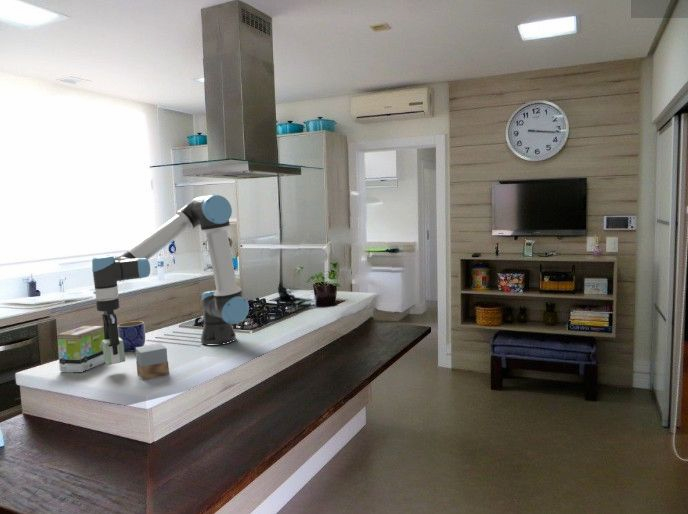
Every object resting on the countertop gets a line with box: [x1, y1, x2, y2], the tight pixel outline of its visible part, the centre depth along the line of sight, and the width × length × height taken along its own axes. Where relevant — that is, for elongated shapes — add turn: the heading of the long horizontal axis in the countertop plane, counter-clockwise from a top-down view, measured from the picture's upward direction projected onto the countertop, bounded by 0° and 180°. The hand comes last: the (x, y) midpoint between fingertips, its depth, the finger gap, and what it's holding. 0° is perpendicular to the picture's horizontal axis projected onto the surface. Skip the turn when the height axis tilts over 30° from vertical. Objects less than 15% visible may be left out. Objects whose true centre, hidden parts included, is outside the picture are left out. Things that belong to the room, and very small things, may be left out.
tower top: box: [135, 342, 169, 367], centre depth 186 cm, size 9×9×5 cm
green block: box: [102, 337, 126, 366], centre depth 189 cm, size 6×6×8 cm
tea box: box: [57, 325, 106, 373], centre depth 199 cm, size 15×10×15 cm
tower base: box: [135, 360, 170, 381], centre depth 186 cm, size 9×9×5 cm
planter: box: [117, 320, 146, 352], centre depth 223 cm, size 11×11×11 cm
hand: (114, 360), depth 189 cm, fingers closed on green block, 6 cm apart
